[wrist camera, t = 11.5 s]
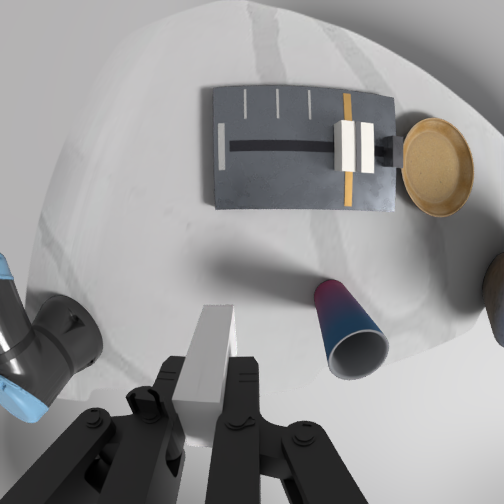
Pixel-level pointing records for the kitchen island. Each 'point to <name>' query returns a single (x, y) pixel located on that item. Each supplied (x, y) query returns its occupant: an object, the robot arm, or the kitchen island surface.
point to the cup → (348, 333)
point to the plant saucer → (437, 167)
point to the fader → (354, 146)
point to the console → (299, 149)
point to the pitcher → (495, 297)
